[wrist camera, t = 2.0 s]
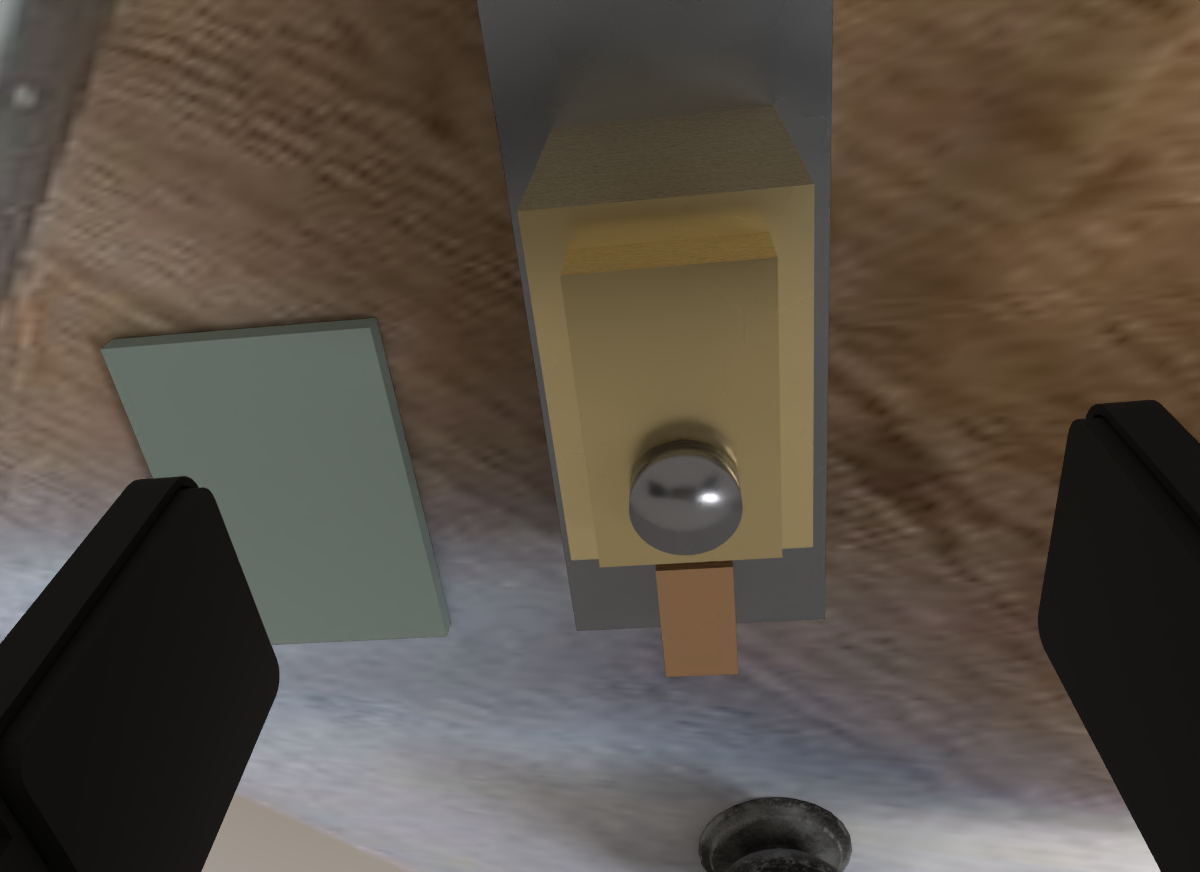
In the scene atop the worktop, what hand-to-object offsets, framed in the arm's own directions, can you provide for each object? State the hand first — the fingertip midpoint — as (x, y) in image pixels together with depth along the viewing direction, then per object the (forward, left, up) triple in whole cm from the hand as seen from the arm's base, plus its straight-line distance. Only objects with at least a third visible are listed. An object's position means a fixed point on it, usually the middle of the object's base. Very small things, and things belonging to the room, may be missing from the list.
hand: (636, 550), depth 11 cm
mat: (+10, +7, -13) cm, 18 cm away
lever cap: (-1, 0, -9) cm, 9 cm away
